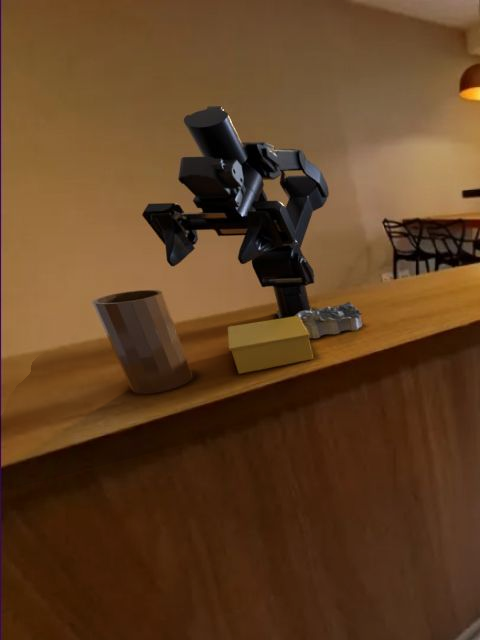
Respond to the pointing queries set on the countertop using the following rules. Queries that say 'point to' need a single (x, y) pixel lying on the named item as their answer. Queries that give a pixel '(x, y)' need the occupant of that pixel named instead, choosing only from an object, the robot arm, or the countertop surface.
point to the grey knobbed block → (331, 320)
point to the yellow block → (269, 344)
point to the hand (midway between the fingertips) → (205, 262)
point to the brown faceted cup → (144, 340)
